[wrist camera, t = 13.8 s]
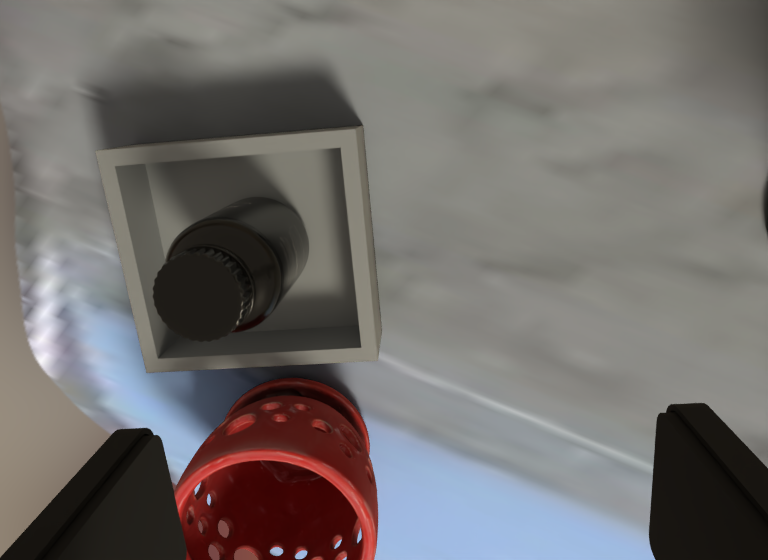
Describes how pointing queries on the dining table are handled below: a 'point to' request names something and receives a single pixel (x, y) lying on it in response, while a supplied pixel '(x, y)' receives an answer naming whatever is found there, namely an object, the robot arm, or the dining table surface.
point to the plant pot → (283, 478)
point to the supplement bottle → (230, 269)
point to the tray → (228, 185)
